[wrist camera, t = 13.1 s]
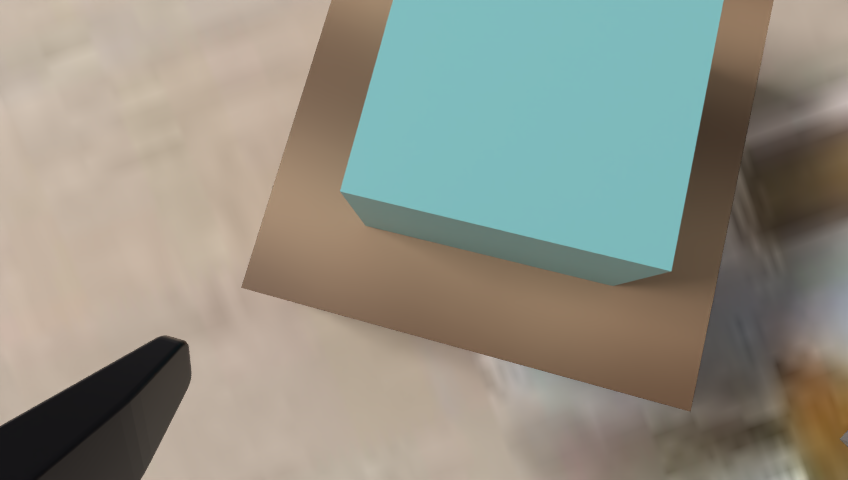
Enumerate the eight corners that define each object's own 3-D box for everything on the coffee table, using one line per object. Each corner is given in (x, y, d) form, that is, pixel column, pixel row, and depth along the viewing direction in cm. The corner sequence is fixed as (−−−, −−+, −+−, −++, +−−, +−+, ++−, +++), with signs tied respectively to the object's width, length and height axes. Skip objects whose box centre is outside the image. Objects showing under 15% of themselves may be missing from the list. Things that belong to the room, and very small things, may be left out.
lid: (612, 285, 15) (671, 271, 11) (365, 225, 16) (340, 191, 12) (660, 50, 16) (731, -38, 12) (426, -1, 17) (421, -102, 13)
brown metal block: (628, 390, 20) (690, 411, 15) (289, 297, 21) (241, 287, 16) (699, 63, 21) (776, -16, 17) (382, -11, 22) (365, -108, 17)
